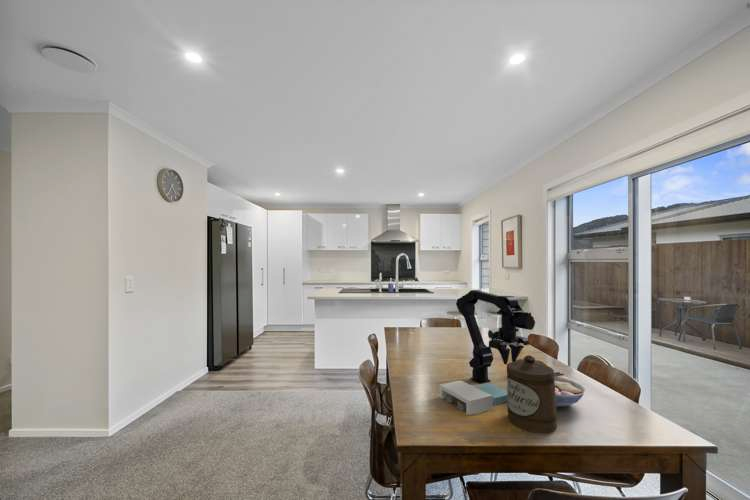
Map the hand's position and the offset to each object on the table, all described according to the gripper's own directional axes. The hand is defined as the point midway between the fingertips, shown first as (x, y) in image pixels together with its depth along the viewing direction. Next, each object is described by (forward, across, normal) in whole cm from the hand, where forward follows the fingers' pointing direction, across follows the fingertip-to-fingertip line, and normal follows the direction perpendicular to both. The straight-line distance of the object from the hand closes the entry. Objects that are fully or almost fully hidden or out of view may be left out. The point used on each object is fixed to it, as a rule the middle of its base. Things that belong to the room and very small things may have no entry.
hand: (509, 363), depth 130 cm
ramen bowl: (+12, -5, +14) cm, 20 cm away
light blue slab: (+12, +10, -1) cm, 16 cm away
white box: (+12, +24, -2) cm, 27 cm away
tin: (+12, -24, -8) cm, 28 cm away
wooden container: (+12, +15, +20) cm, 28 cm away
